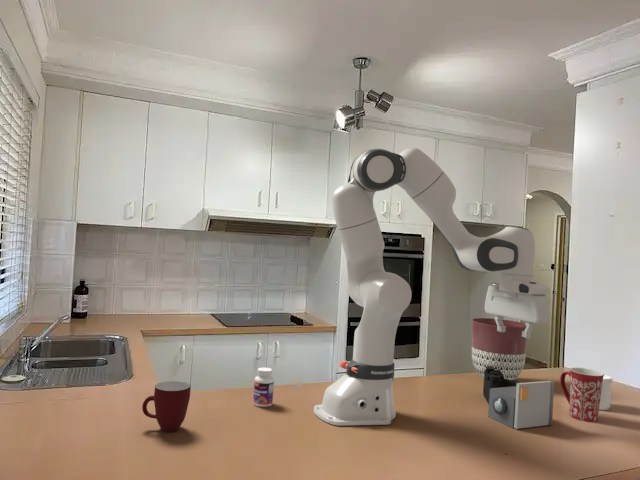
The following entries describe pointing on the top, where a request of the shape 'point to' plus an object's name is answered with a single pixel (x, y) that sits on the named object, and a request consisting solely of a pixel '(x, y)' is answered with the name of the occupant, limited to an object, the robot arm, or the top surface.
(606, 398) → the cup
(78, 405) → the top surface
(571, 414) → the mug
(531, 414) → the door
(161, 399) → the mug
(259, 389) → the pill bottle
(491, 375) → the camera
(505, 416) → the housing
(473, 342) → the planter
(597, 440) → the top surface
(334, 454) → the top surface
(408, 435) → the top surface
